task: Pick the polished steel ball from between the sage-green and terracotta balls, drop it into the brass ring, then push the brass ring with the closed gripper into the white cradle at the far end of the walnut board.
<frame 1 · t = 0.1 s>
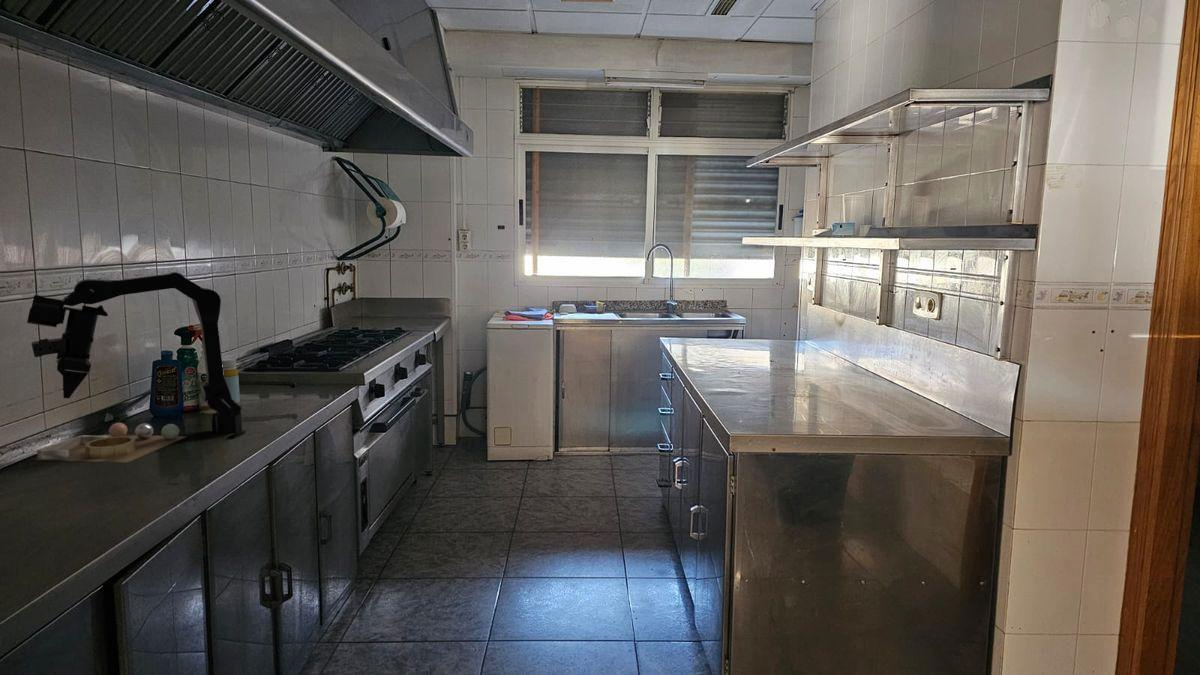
hand: (65, 394, 175), 15 cm above the worktop, fingers open, 9 cm apart
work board: (115, 452, 181), on the worktop
bottle: (227, 406, 232), on the worktop
race ring: (111, 451, 177), point 1 cm above the worktop, touching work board
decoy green: (170, 431, 188), point 3 cm above the worktop, touching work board
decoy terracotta: (118, 430, 189), point 3 cm above the worktop, touching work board
steel ball: (144, 431, 189), point 3 cm above the worktop, touching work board
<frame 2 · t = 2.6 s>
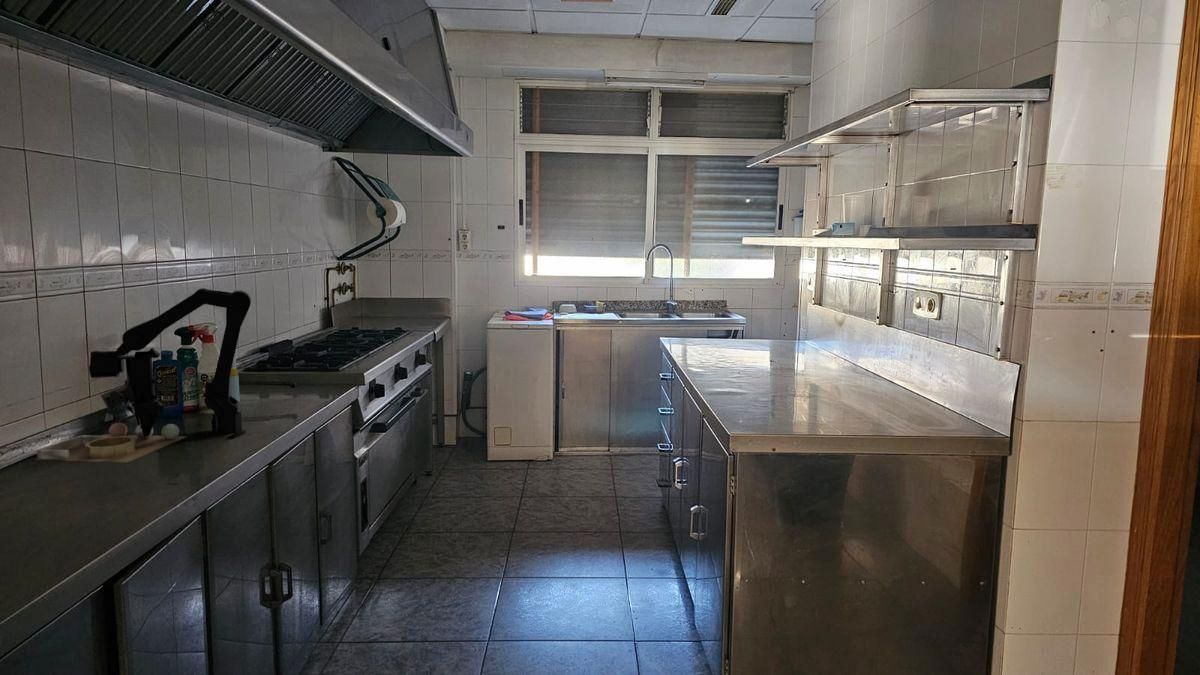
hand: (144, 434, 189), 2 cm above the worktop, fingers closed on steel ball, 4 cm apart
steel ball: (144, 431, 189), point 3 cm above the worktop, touching gripper, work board
everything else where it was.
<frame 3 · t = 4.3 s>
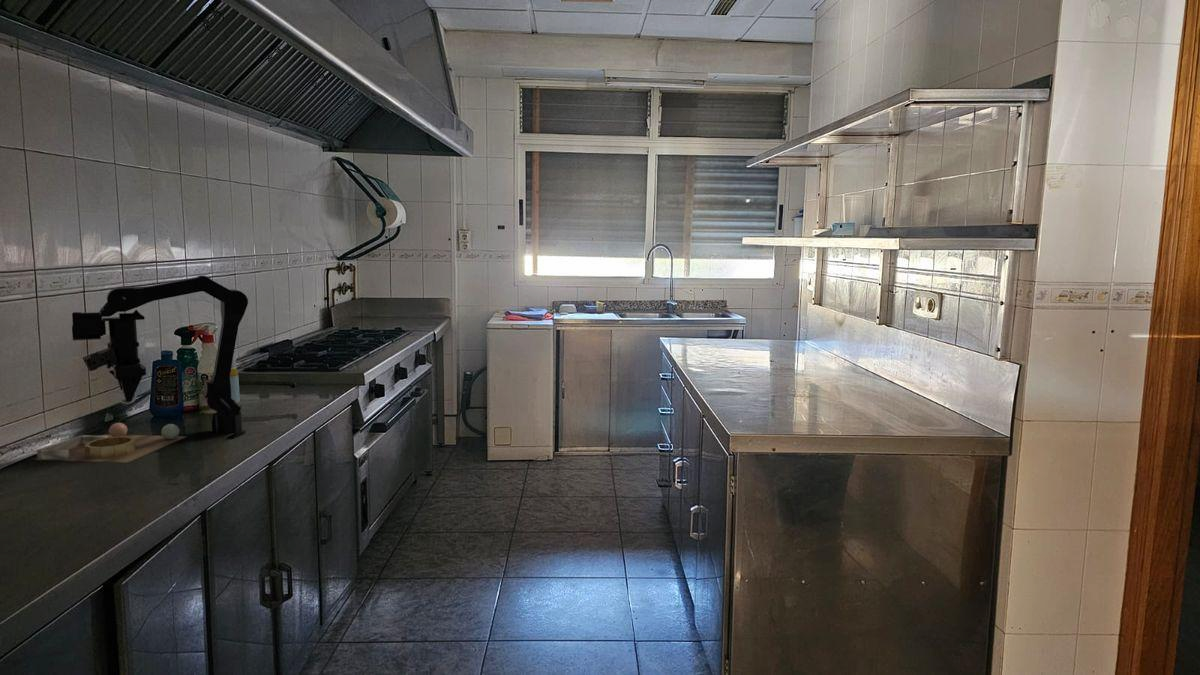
hand: (127, 399, 183), 12 cm above the worktop, fingers closed on steel ball, 4 cm apart
steel ball: (127, 396, 183), point 13 cm above the worktop, touching gripper
everything else where it was.
when the fingers open (5 cm above the worktop, at t = 6.4 s): steel ball drops 2 cm, resting on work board.
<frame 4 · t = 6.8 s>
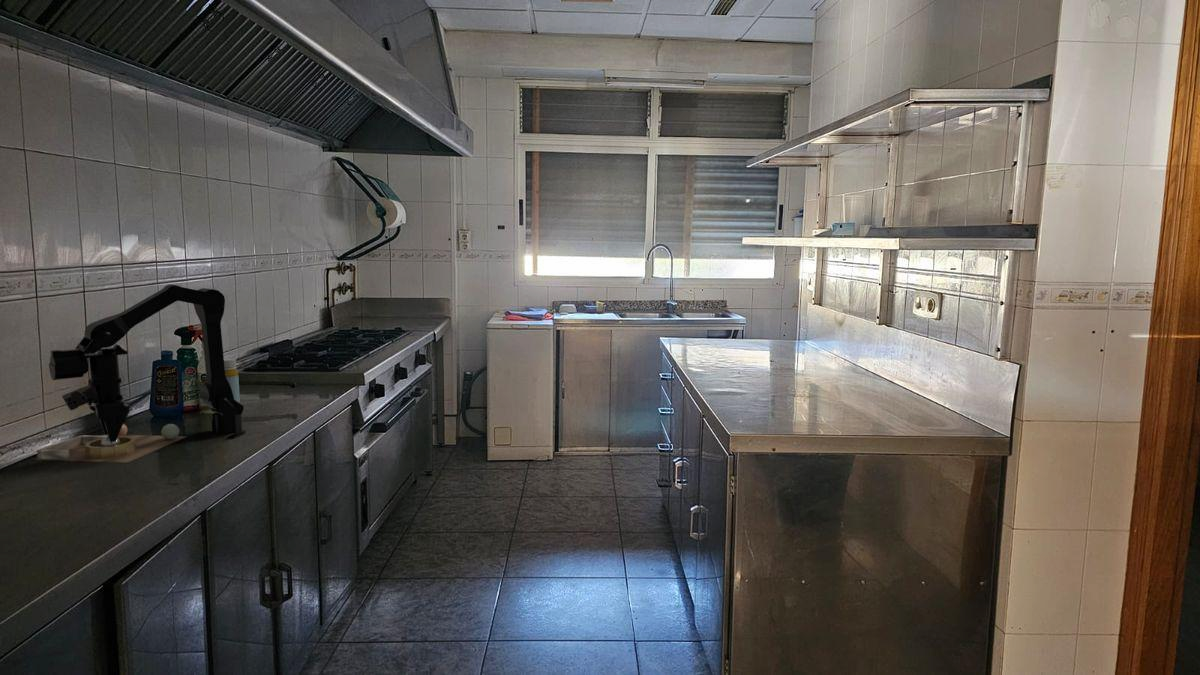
hand: (110, 437, 177), 5 cm above the worktop, fingers open, 8 cm apart
steel ball: (110, 443, 177), point 3 cm above the worktop, touching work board
everything else where it was.
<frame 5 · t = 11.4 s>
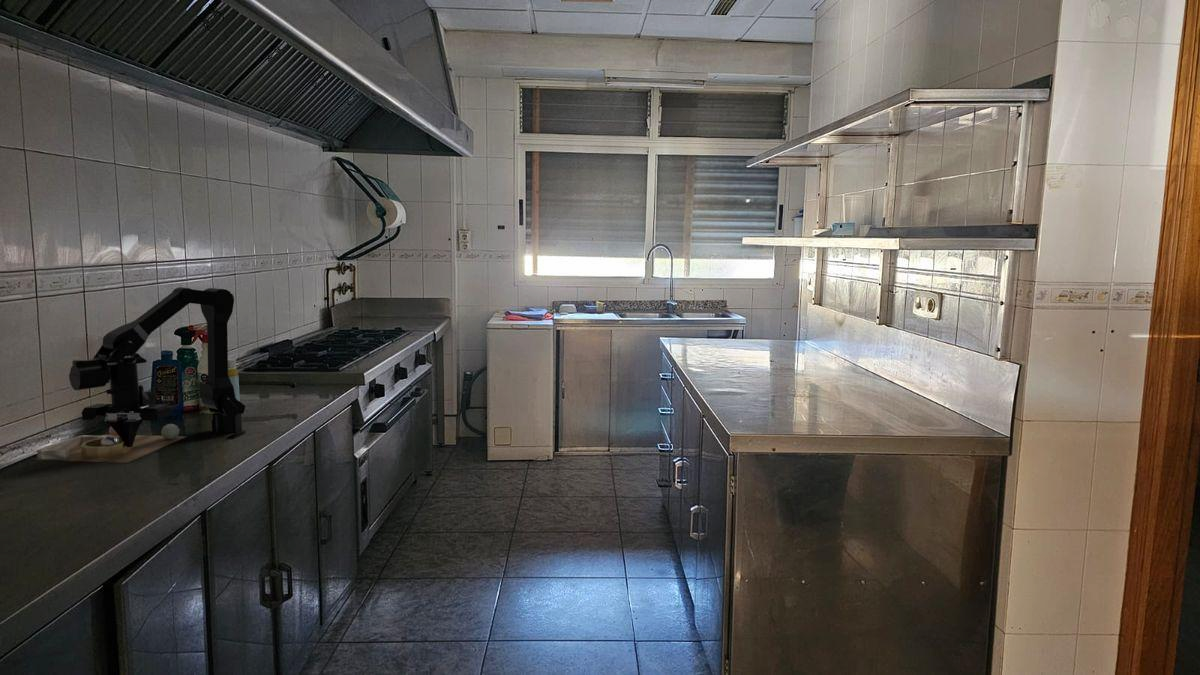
hand: (129, 446, 177), 3 cm above the worktop, fingers closed
race ring: (107, 451, 177), point 1 cm above the worktop, touching gripper
steel ball: (110, 443, 177), point 3 cm above the worktop, tilted 9°, touching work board
everything else where it was.
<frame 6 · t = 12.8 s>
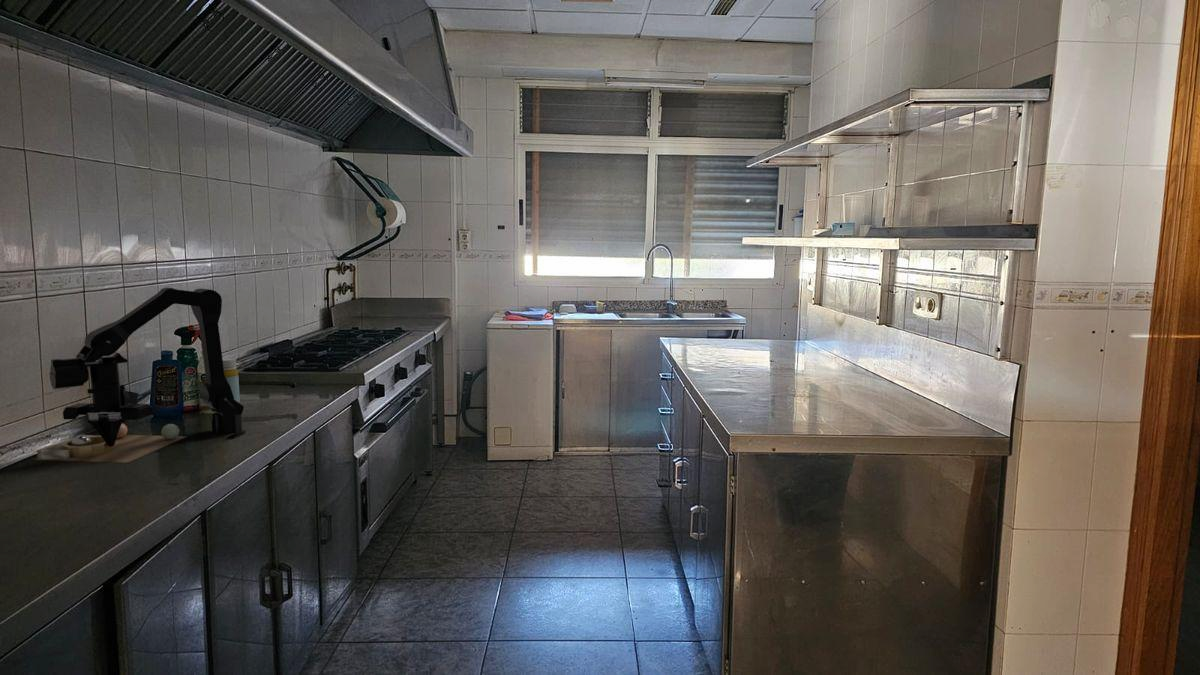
hand: (111, 446, 177), 3 cm above the worktop, fingers closed
race ring: (89, 451, 177), point 1 cm above the worktop, touching gripper, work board
steel ball: (81, 442, 178), point 3 cm above the worktop, tilted 145°, touching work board
everything else where it was.
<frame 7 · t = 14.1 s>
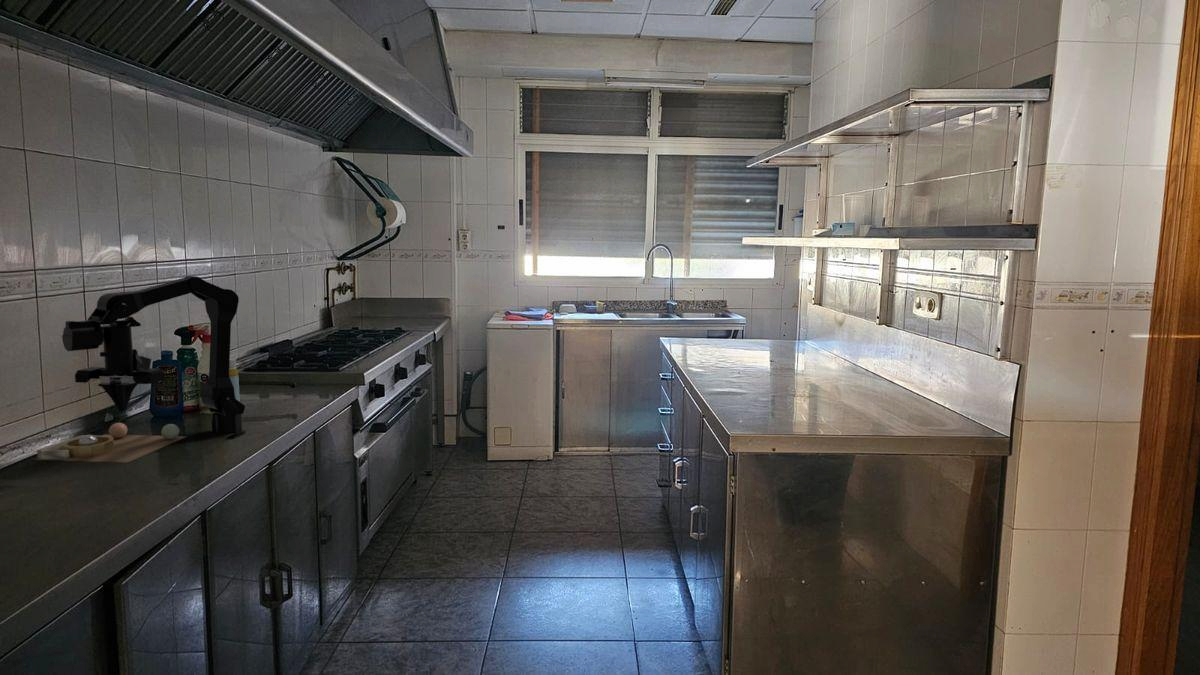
hand: (122, 410, 175), 12 cm above the worktop, fingers closed
race ring: (89, 451, 177), point 1 cm above the worktop, touching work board
steel ball: (88, 442, 178), point 3 cm above the worktop, tilted 168°, touching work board
everything else where it was.
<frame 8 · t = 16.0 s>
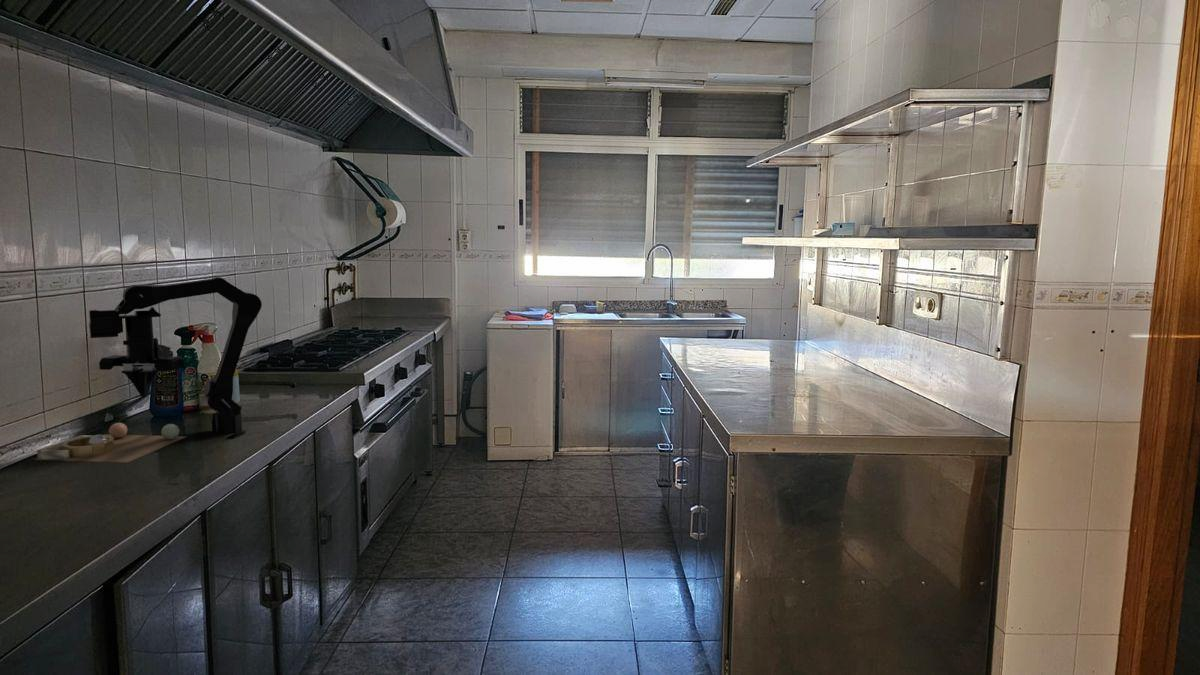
hand: (144, 396, 184), 13 cm above the worktop, fingers closed
steel ball: (98, 442, 178), point 3 cm above the worktop, tilted 100°, touching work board
everything else where it was.
at the end: race ring 1.1 cm from the target spot, point 1.2 cm above the worktop; steel ball 2.2 cm from the race ring (horizontally); steel ball point 3.2 cm above the worktop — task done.
